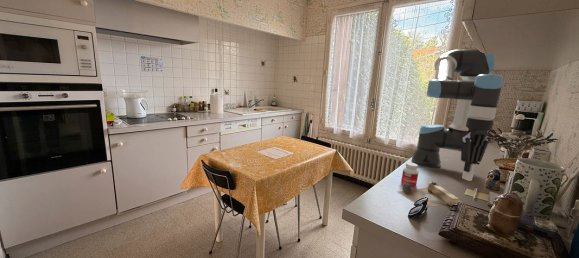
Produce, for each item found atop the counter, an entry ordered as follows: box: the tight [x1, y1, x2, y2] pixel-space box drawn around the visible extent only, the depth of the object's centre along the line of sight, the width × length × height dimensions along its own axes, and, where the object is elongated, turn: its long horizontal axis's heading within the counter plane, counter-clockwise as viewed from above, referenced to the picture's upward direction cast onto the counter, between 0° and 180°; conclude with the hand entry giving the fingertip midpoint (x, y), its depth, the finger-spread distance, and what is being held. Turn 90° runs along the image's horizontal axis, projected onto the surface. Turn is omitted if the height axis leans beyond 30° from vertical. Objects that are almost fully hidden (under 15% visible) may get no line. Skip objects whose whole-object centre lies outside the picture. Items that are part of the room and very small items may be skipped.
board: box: [396, 182, 463, 209], centre depth 95 cm, size 20×14×5 cm
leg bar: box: [427, 181, 460, 207], centre depth 94 cm, size 14×4×4 cm, turn 3°
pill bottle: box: [400, 161, 420, 188], centre depth 105 cm, size 6×6×11 cm
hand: (466, 179), depth 89 cm, fingers closed
